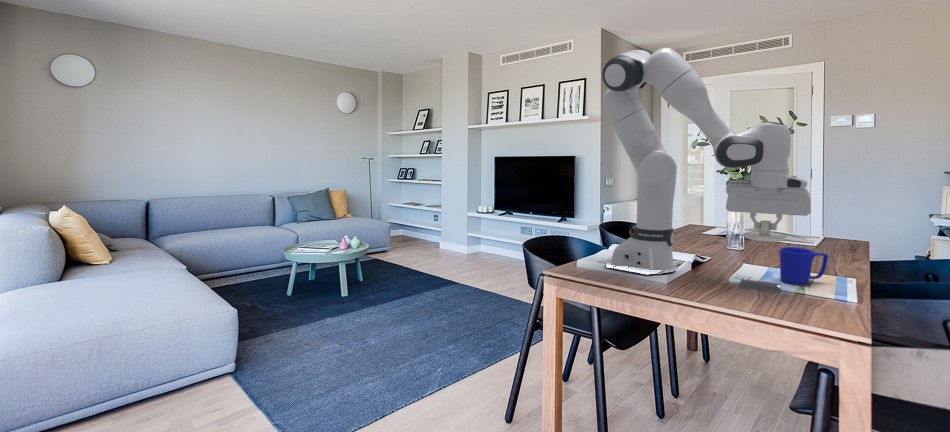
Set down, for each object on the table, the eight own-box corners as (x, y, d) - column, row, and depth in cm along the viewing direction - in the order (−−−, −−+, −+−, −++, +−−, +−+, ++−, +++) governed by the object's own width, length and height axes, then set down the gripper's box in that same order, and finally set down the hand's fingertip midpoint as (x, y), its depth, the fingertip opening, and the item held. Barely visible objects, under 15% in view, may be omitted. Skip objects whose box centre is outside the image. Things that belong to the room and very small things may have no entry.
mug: (832, 288, 131) (835, 253, 129) (784, 286, 133) (787, 252, 132) (817, 280, 139) (820, 247, 137) (772, 278, 141) (775, 246, 140)
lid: (742, 239, 130) (743, 222, 129) (745, 233, 138) (746, 217, 138) (784, 243, 125) (786, 225, 124) (785, 236, 133) (787, 219, 132)
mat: (738, 288, 132) (738, 287, 132) (741, 280, 140) (741, 278, 140) (779, 294, 126) (779, 292, 126) (780, 285, 135) (780, 283, 135)
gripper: (725, 180, 132) (722, 227, 134) (813, 182, 121) (808, 234, 123) (728, 178, 137) (725, 224, 139) (812, 180, 126) (808, 230, 128)
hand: (765, 229), depth 131 cm, fingers closed on lid, 3 cm apart
